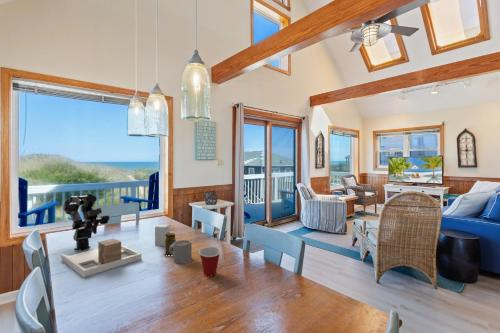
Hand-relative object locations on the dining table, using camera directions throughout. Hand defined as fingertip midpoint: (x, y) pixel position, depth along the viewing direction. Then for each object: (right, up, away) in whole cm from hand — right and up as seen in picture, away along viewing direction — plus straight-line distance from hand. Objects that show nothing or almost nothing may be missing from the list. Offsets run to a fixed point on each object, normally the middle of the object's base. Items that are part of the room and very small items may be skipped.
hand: (95, 233), depth 148 cm
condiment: (+43, -14, +4) cm, 45 cm away
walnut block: (+15, -12, -12) cm, 23 cm away
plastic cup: (+71, -14, -23) cm, 76 cm away
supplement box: (+32, -13, +23) cm, 41 cm away
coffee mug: (+51, -14, -4) cm, 53 cm away
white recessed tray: (+7, -14, -5) cm, 16 cm away
